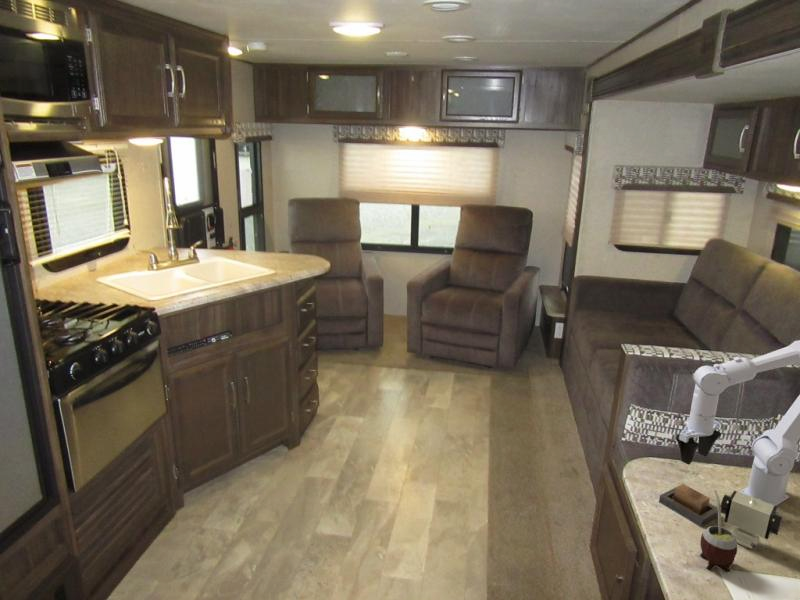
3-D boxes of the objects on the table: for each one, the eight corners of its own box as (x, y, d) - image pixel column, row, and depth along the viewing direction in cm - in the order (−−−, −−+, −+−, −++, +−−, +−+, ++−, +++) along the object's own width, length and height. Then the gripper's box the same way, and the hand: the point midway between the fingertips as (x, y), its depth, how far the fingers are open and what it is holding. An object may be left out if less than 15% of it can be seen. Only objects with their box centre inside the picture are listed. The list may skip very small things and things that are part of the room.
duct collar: (677, 492, 152) (678, 486, 152) (719, 516, 143) (720, 509, 142) (658, 501, 148) (660, 495, 148) (700, 527, 139) (702, 520, 138)
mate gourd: (723, 580, 122) (736, 520, 118) (687, 558, 128) (698, 501, 124) (739, 565, 127) (752, 507, 122) (703, 545, 133) (714, 489, 128)
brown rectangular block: (706, 515, 143) (709, 498, 142) (698, 519, 142) (701, 502, 140) (680, 500, 149) (683, 483, 148) (672, 504, 147) (675, 488, 146)
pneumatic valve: (770, 560, 128) (782, 514, 125) (713, 535, 136) (722, 492, 133) (775, 547, 132) (786, 503, 129) (720, 524, 140) (729, 482, 136)
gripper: (704, 399, 154) (695, 444, 158) (671, 412, 147) (663, 458, 151) (730, 410, 148) (721, 456, 152) (698, 423, 141) (689, 472, 145)
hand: (694, 458), depth 151 cm, fingers open, 7 cm apart
